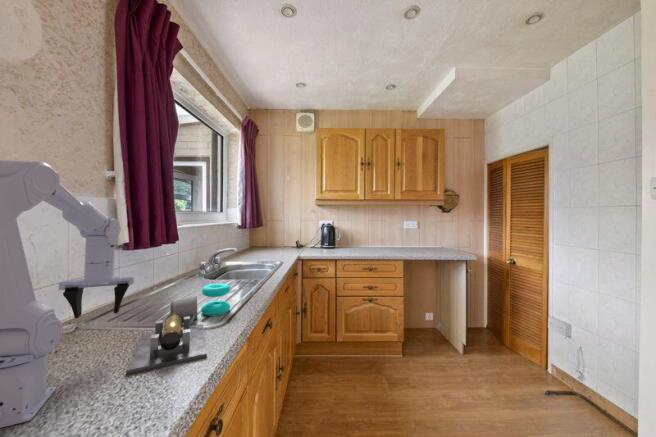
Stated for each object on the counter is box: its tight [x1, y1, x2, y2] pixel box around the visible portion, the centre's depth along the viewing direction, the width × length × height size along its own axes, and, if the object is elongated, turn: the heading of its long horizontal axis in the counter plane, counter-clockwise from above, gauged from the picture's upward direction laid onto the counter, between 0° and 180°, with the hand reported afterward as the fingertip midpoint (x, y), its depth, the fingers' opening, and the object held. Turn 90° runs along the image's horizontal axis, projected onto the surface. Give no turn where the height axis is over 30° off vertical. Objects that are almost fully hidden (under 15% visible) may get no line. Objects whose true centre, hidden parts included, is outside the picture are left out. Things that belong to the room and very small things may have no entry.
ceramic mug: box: [169, 295, 198, 326], centre depth 86 cm, size 11×8×8 cm
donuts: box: [200, 282, 231, 317], centre depth 96 cm, size 10×10×10 cm
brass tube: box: [160, 313, 183, 350], centre depth 68 cm, size 16×4×4 cm, turn 29°
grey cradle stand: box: [125, 316, 208, 376], centre depth 68 cm, size 21×16×6 cm
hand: (97, 314), depth 65 cm, fingers open, 7 cm apart
